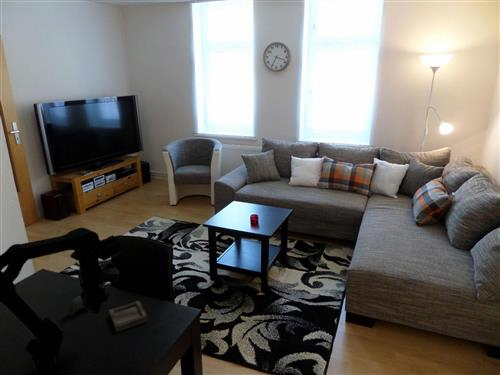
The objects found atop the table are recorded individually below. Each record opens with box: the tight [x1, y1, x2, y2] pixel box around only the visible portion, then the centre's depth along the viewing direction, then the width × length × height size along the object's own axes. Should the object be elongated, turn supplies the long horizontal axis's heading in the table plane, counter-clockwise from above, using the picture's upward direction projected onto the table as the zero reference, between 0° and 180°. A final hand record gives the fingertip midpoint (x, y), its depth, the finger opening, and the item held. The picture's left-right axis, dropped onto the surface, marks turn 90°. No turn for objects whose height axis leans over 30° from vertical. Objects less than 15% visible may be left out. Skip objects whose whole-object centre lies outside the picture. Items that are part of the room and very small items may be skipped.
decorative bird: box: [68, 281, 111, 317], centre depth 132 cm, size 5×16×7 cm, turn 148°
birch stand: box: [109, 300, 149, 333], centre depth 125 cm, size 11×11×2 cm
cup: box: [79, 286, 106, 316], centre depth 112 cm, size 8×7×8 cm
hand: (95, 307), depth 112 cm, fingers closed on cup, 6 cm apart
